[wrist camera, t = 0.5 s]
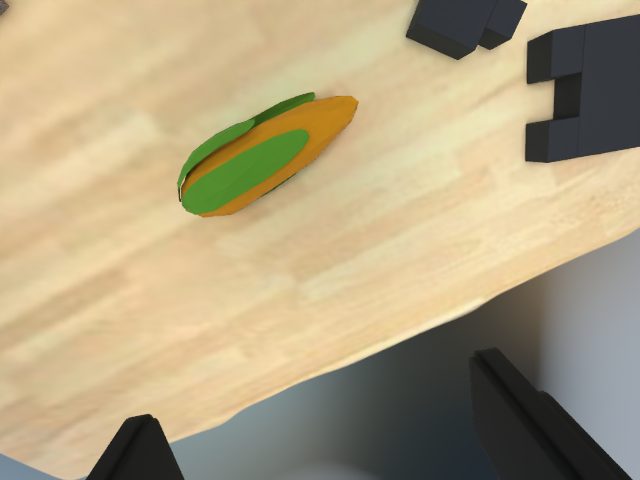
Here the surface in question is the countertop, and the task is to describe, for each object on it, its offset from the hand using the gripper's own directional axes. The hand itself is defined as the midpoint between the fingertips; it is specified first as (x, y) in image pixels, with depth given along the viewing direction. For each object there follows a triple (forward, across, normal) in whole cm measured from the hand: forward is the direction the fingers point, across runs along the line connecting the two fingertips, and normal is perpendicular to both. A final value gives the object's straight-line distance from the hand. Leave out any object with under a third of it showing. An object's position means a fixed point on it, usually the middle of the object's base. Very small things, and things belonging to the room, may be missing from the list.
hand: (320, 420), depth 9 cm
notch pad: (+28, -31, -7) cm, 43 cm away
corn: (+29, +3, -8) cm, 30 cm away
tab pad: (+28, -19, -17) cm, 38 cm away
